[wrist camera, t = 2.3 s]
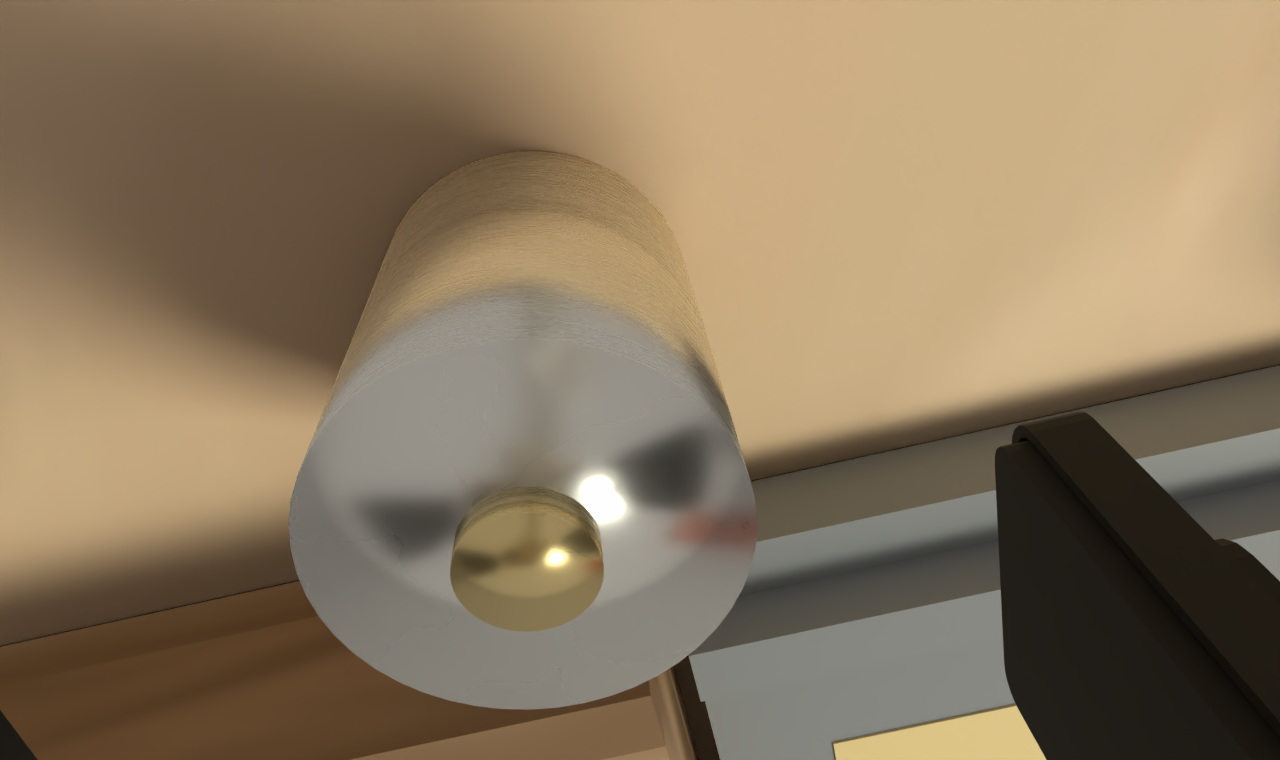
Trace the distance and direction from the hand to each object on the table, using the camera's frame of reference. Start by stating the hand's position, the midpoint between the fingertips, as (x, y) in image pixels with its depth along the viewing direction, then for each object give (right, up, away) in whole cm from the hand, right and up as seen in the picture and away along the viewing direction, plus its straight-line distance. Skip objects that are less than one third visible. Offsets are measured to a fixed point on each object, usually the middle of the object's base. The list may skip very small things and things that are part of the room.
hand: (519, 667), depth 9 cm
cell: (0, +4, +5) cm, 6 cm away
